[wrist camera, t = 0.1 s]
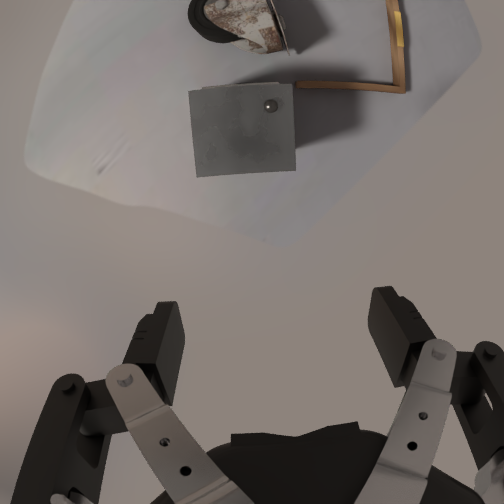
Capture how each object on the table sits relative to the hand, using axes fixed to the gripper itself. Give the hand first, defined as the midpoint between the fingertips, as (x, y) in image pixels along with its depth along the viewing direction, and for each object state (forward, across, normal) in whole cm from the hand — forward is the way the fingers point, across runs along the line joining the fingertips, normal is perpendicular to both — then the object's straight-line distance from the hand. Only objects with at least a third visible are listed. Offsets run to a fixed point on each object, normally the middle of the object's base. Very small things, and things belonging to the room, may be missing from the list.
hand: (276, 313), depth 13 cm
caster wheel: (+30, +1, -19) cm, 35 cm away
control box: (+29, +1, -6) cm, 30 cm away
